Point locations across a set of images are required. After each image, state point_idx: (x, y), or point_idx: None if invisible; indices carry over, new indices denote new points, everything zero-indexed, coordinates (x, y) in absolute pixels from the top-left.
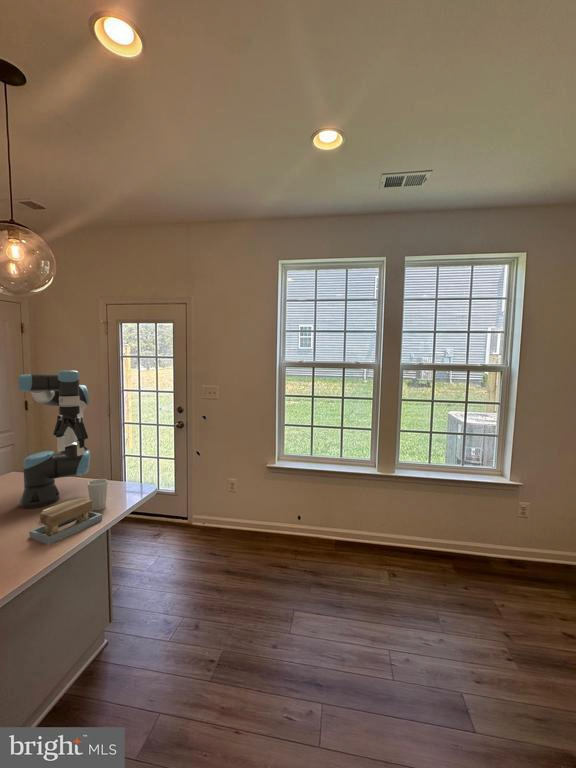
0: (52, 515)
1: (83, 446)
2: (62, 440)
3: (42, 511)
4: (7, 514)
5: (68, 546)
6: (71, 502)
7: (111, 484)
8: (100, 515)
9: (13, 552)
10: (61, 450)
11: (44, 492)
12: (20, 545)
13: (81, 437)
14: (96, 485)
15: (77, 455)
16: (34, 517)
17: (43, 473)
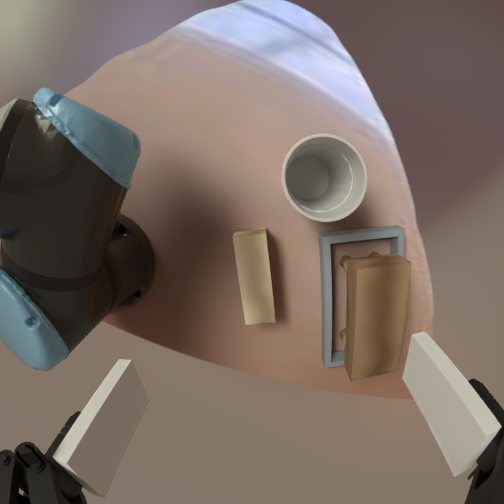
0: (394, 366)
1: (478, 391)
2: (96, 446)
3: (246, 322)
4: (141, 336)
5: (425, 326)
6: (366, 308)
7: (147, 59)
8: (404, 233)
9: (352, 386)
10: (138, 387)
11: (129, 279)
12: (339, 375)
13: None
14: (358, 204)
15: (407, 378)
16: (214, 315)
17: (91, 310)
